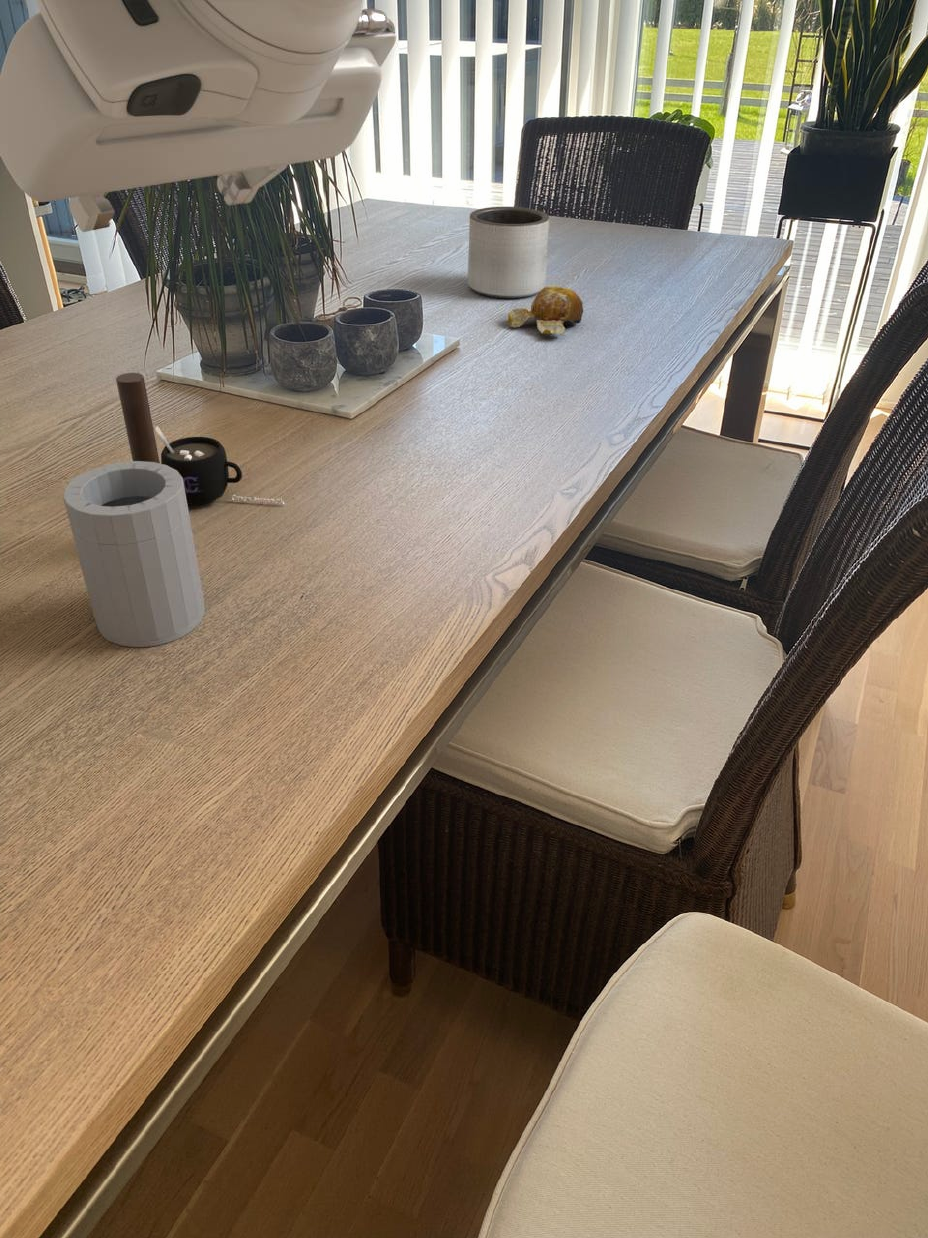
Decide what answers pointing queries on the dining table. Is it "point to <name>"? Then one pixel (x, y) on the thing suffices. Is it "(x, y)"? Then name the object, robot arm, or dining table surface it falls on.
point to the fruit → (550, 310)
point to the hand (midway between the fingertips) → (163, 206)
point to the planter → (507, 251)
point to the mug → (202, 468)
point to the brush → (137, 417)
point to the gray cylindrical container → (136, 552)
